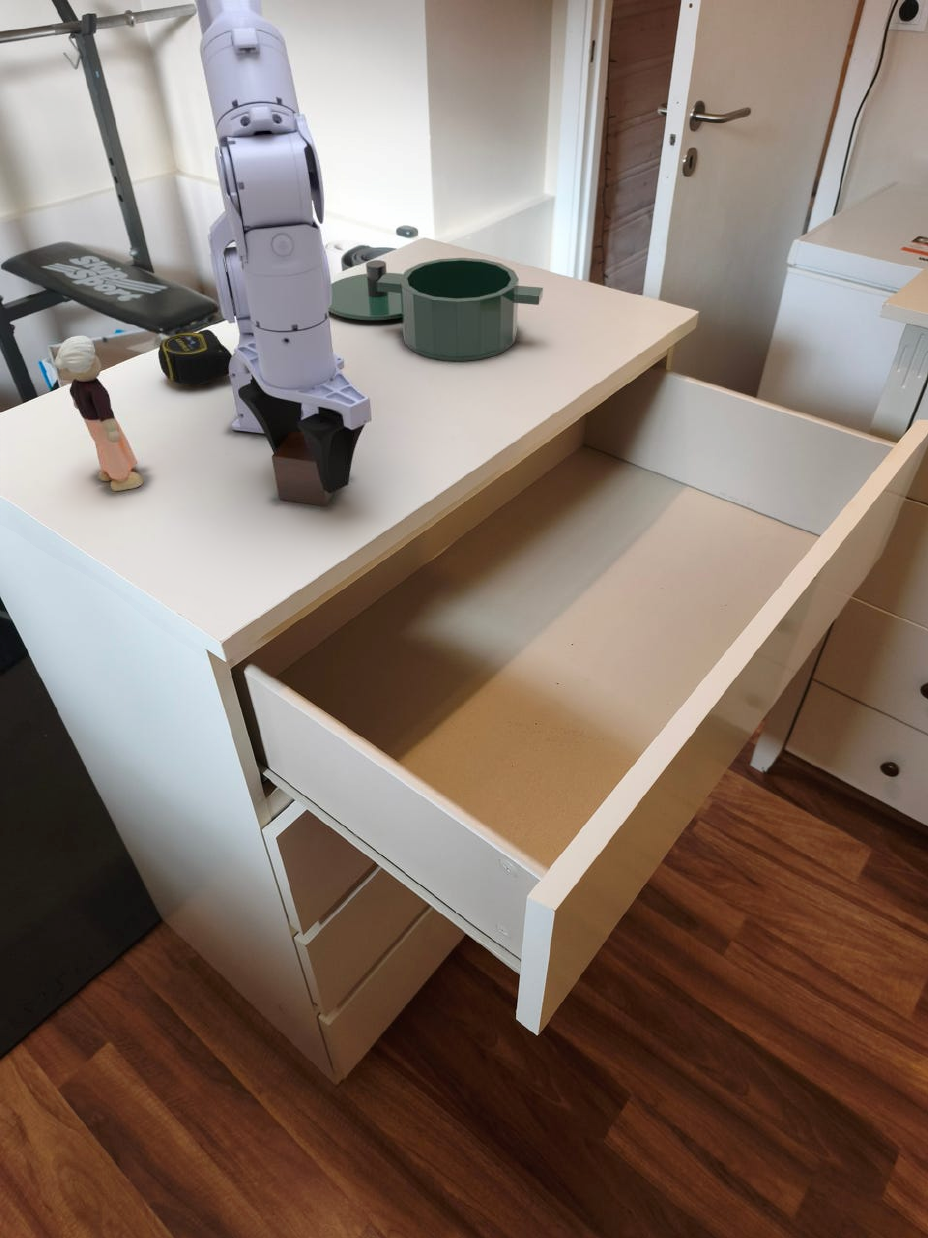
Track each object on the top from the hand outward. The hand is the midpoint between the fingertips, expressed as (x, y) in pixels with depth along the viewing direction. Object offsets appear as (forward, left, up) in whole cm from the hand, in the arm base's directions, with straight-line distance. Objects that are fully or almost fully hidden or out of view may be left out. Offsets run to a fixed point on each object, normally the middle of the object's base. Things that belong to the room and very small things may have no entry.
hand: (313, 473), depth 72 cm
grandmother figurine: (-2, +18, -2) cm, 18 cm away
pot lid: (+40, +7, -1) cm, 41 cm away
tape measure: (+18, +19, -2) cm, 26 cm away
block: (0, 0, -1) cm, 1 cm away
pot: (+33, -5, -1) cm, 33 cm away
